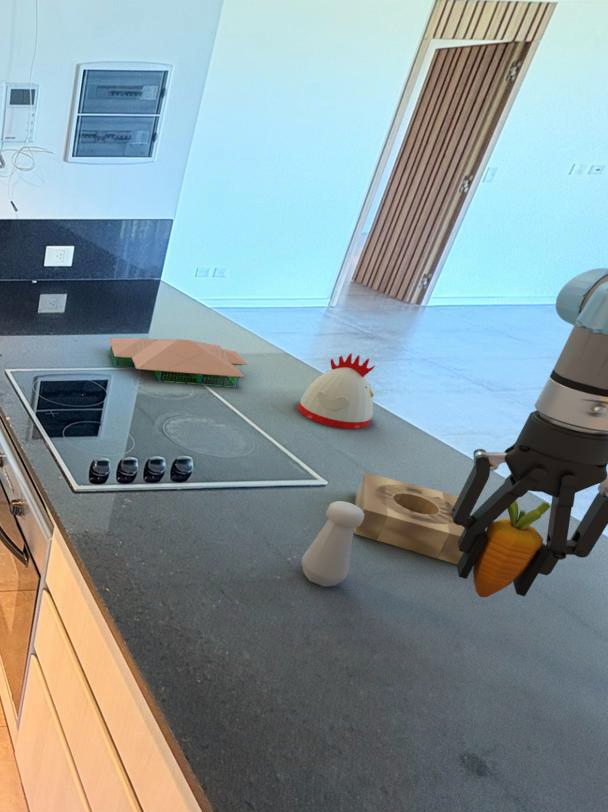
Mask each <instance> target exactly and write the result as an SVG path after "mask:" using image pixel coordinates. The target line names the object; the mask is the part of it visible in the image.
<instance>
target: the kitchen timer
mask: <svg viewBox="0 0 608 812" xmlns="http://www.w3.org/2000/svg"><path fill="white" fill-rule="evenodd" d="M352 353H353V352H351V353H349V354H348V356H347V358H346V360H344V357H343V355H340V356H339V357H338V365H337V364H336V363H335V360H334V359H333V358H331V359H330V368H331V369H329V370H327V371H326V372H323V374H321V375H319V376H318V377H317V378H316V379H315V380H314V381H312V382H311V384H310V385H309V387H308V388H307V389H306V391H304V393H303V395H302V396H301V397H300V398H301V399H300V401H299V404H298V407H297V409H298V411H299V413H300V414H301V415H302V416H304V417H305V418H308V419H309V420H311V421H313V422H316V423H320V424H322V425H325V426H329V427H334V428H338V429H339V428H340V429H348V430H356V429H357V430H358V429H363V428H367V427H368V426H369V425H370V424H371V420H372V417H373V413H374V396H375V394H374V392H373V389H372V386H371V383H370V382H369V380H368V378H367V377H366V376H367V374H369V373H370V372H371V371H372V370H374V369H375V367H376V365H373V366H371V367H368V365H369V362H370V358H367V359H366V360H364V361H363V363H362V364H361V365H360V354H358V355H357V356H356V357H355V359H354V361H353V362H352V359H353V354H352Z"/></svg>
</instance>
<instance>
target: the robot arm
mask: <svg viewBox="0 0 608 812" xmlns="http://www.w3.org/2000/svg"><path fill="white" fill-rule="evenodd" d="M555 311H556V313H557V315H558V317H559V318H560V319H561V320H563V321H564V322H565V323H567V324H570V325H572V326H573V327H572V330H571V332H570V333H569V336H568V337H567V340H566V342H565V344H564V346H563V348H562V350H561V352H560V354H559V357H558V358H557V360H556V363H555V365H554V367H553V368H552V371H551V373H550V375H549V377H547V378H548V379H547V380H546V382H545V384H544V386H543V387H542V390H541V391H540V392H539V393H540V394H539V395H538V397H537V399H536V401H535V403H534V408H535V409H536V410H533V411H532V412H530V413H529V415H528V417H527V419H526V421H525V422H524V425H523V426H522V429H521V431H520V432H519V434H518V436H517V438H516V441H514V443H513V444H512V445H511V446H509V447H507V448H506V449H505V450H504V451H494V452H492V451H488V452H487V451H486V450H485V449H483V448H477V449H475V450H474V451H473V453H472V455H473V467H472V469H471V471H470V473H469V474H468V477H467V478H466V481H465V482H464V485H463V487H462V489H461V491H460V493H459V494H458V496H459V497H458V499H457V501H456V503H455V505H454V507H453V509H452V517H453V522H454V523H455V524H456V525H461V526H463V527H464V530H463V532H462V534H461V536H460V538H459V540H458V547H459V551H461V552H463V554H462V556H461V558H460V560H459V562H458V564H456V569H457V574H458V577H459V578H461V579H464V580H467V579H468V577H469V575H470V573H471V571H472V570H473V568H474V564H475V562H476V560H477V558H478V556H479V554H480V552H481V550H482V549H483V547H484V545H485V543H486V541H487V539H488V538H487V535H486V529H487V527H488V526H489V525H490V524H491V523H492V522H495V521H497V519H498V518H499V517H500V516H501V515H502V514H503V513H504V512H505V511H506V510H508V509H507V508H508V507H509V506H510V505H511V504H512V503H513V502H514V501H515V500H516V501H517V500H518V499H519V498H522V497H524V496H525V495H526V494H527V493H528V492H529V491H530V492H535V493H544V494H546V495H547V496H550V497H551V504H550V511H549V517H548V518H549V519H548V525H547V534H546V544H545V543H544V542H543V543H542V545H541V547H540V548H539V550H538V552H537V553H536V555H535V556H534V558H533V559H532V561H531V562H530V564H529V565H528V566H527V568H526V569H525V570H524V571H523V572H522V573H521V574H520V575H519V576H518V577H517V578H516V579H515V580H514V581H513V582H512V583H513V588H514V590H515V594H516V595H518V596H521V597H526V595H527V594H528V592H529V590H530V589H531V587H532V585H533V583H534V582H535V580H536V578H537V577H538V575H539V574H540V575H543V576H549V575H550V574H551V573H552V572H553V570H554V569H555V567H556V565H557V564H558V562H559V560H560V561H561V560H565V559H566V558H567V556H575V557H577V558H580V559H581V558H588V556H589V555H590V554H591V552H592V550H593V548H594V547H595V546H596V544H597V542H599V539H600V537H601V536H602V534H603V532H604V531H605V529H606V528H607V526H608V471H607V466H608V267H607V268H606V267H602V268H600V267H598V268H592V269H589V270H586V271H583V272H581V273H579V274H578V275H576V276H574V277H572V278H571V279H570V280H569V281H568V282H566V283H565V284H564V285H563V286H562V288H560V290H559V292H558V294H557V297H556V301H555ZM502 464H506V466H507V468H508V469H509V472H510V474H509V475H508V476H507V477H506V478H505V480H504V481H503V484H501V485H500V486H499V487H498V488H497V489H496V490H495V491H494V492H493V493H492V494H491V495H490V496H489V497H488V498H487V499H486V500H485V501H484V502H483V503H482V504H481V505H480V506H479V507H478V508H477V509H476V510H475V511H474V512H473V513H472V511H473V510H474V508H475V505H476V504H477V502H478V500H479V498H480V496H481V494H482V493H483V490H484V488H485V487H486V484H487V482H488V481H489V478H490V475H491V472H494V471H496V470H497V469H498V468H499V466H500V465H502ZM598 484H599V485H598ZM596 485H598V486H597V491H598V493H597V494H596V495H595V497H594V499H593V500H592V501H591V503H590V505H589V506H588V509H587V510H586V512H585V513H584V515H583V517H582V519H581V520H580V522H579V524H578V526H577V527H576V529H575V531H574V532H573V534H572V536H571V537H570V539H568V535H569V528H570V522H571V516H572V510H573V509H572V508H573V507H574V504H575V496H576V493H578V492H581V491H583V490H586V489H589V488H591V487H594V486H596Z"/></svg>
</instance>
